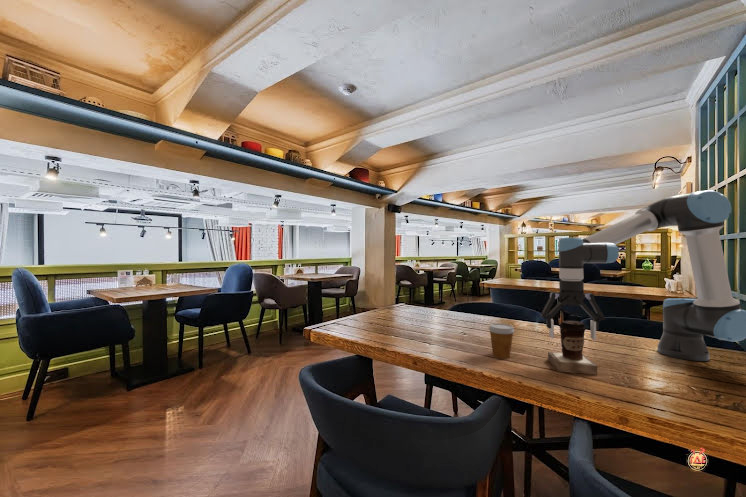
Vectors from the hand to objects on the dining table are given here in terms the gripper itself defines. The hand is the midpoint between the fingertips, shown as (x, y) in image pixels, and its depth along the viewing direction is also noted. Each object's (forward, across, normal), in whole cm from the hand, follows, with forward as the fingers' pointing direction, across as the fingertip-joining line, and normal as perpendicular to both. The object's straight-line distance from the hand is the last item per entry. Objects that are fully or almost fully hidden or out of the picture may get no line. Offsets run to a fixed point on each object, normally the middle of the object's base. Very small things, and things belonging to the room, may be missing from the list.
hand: (572, 338), depth 115 cm
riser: (+10, +1, 0) cm, 10 cm away
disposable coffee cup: (+10, +24, -6) cm, 26 cm away
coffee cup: (+7, 0, 0) cm, 7 cm away
